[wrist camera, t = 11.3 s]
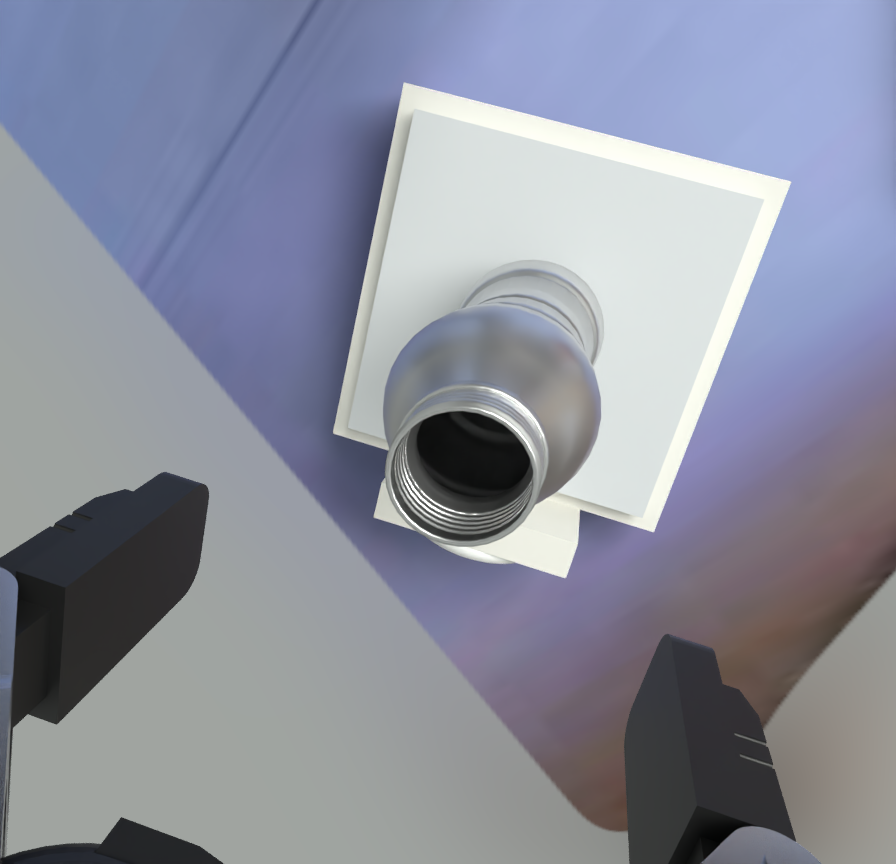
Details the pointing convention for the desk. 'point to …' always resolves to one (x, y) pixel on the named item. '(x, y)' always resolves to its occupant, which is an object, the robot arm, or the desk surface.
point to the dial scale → (583, 252)
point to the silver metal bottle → (494, 404)
